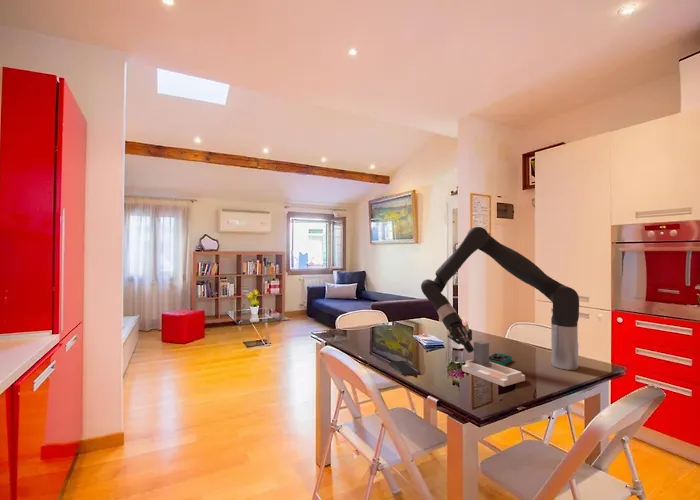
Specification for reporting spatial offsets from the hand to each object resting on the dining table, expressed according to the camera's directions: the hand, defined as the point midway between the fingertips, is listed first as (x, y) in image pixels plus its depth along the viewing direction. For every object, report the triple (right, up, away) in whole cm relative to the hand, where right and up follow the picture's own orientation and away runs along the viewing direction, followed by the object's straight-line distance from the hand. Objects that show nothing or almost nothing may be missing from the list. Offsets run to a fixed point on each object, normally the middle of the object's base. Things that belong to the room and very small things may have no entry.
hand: (471, 351), depth 140 cm
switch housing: (+5, -7, -9) cm, 12 cm away
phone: (-28, -7, -1) cm, 29 cm away
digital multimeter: (+13, -7, +6) cm, 17 cm away
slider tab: (+2, -4, -5) cm, 7 cm away
